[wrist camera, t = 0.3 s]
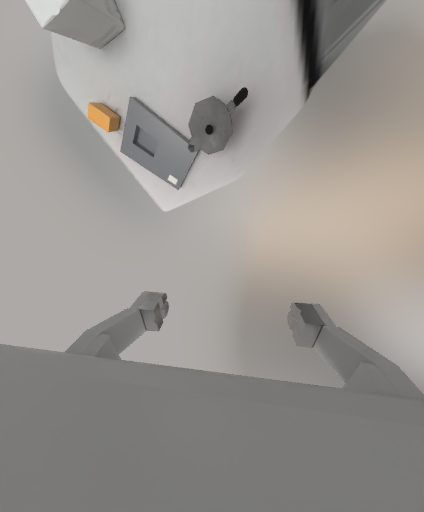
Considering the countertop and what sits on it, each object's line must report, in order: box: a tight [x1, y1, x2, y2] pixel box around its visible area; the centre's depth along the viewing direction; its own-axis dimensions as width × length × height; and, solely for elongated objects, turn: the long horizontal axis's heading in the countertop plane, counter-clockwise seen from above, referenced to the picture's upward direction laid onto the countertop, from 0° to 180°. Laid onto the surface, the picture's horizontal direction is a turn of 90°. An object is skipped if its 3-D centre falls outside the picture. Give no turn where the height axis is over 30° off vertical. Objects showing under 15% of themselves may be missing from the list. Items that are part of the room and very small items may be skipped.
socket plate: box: [120, 97, 199, 190], centre depth 46 cm, size 14×20×4 cm
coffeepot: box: [188, 87, 248, 155], centre depth 35 cm, size 15×9×18 cm, turn 128°
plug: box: [88, 103, 120, 132], centre depth 41 cm, size 4×5×6 cm
